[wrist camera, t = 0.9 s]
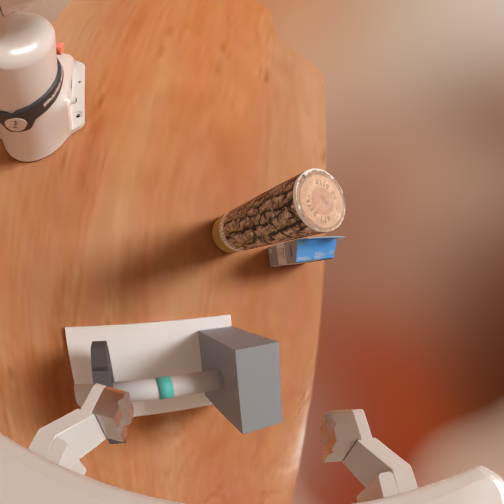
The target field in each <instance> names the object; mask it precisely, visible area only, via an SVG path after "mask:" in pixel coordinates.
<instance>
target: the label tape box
mask: <svg viewBox="0 0 504 504" xmlns="http://www.w3.org/2000/svg"><path fill="white" fill-rule="evenodd" d="M337 238H345V237H342V236H338V237H313V238H303V239H297V240H294V241H290V242H286V243H282V244H279V245H275V246H272V247H268V254H269V261H270V267H276V266H284V265H293V264H301V263H308V262H314V261H321V260H326V259H332V258H334V252H335V247H336V240H337Z"/></svg>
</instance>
